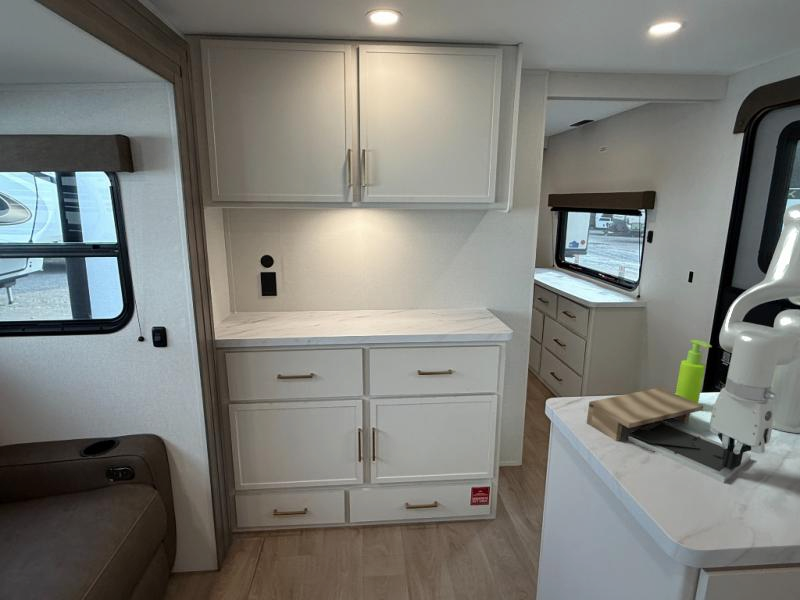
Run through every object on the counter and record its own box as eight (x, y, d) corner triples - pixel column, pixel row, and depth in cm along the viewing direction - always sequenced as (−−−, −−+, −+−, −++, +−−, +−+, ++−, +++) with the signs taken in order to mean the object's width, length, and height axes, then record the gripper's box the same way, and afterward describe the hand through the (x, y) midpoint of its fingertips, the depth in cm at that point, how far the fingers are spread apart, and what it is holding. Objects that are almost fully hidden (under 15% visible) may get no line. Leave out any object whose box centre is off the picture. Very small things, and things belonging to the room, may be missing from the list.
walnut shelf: (656, 407, 132) (660, 387, 131) (699, 427, 121) (703, 406, 120) (586, 423, 122) (589, 401, 120) (625, 446, 110) (629, 423, 109)
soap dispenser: (689, 412, 130) (702, 345, 125) (669, 401, 136) (680, 338, 131) (705, 410, 131) (718, 344, 127) (684, 399, 138) (696, 336, 133)
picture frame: (627, 443, 114) (722, 486, 97) (629, 433, 113) (725, 474, 97) (657, 426, 123) (749, 462, 107) (659, 416, 122) (751, 451, 106)
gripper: (798, 401, 92) (778, 481, 96) (721, 374, 105) (707, 446, 109) (776, 406, 89) (757, 489, 93) (700, 378, 102) (686, 452, 106)
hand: (730, 465), depth 101 cm, fingers closed
